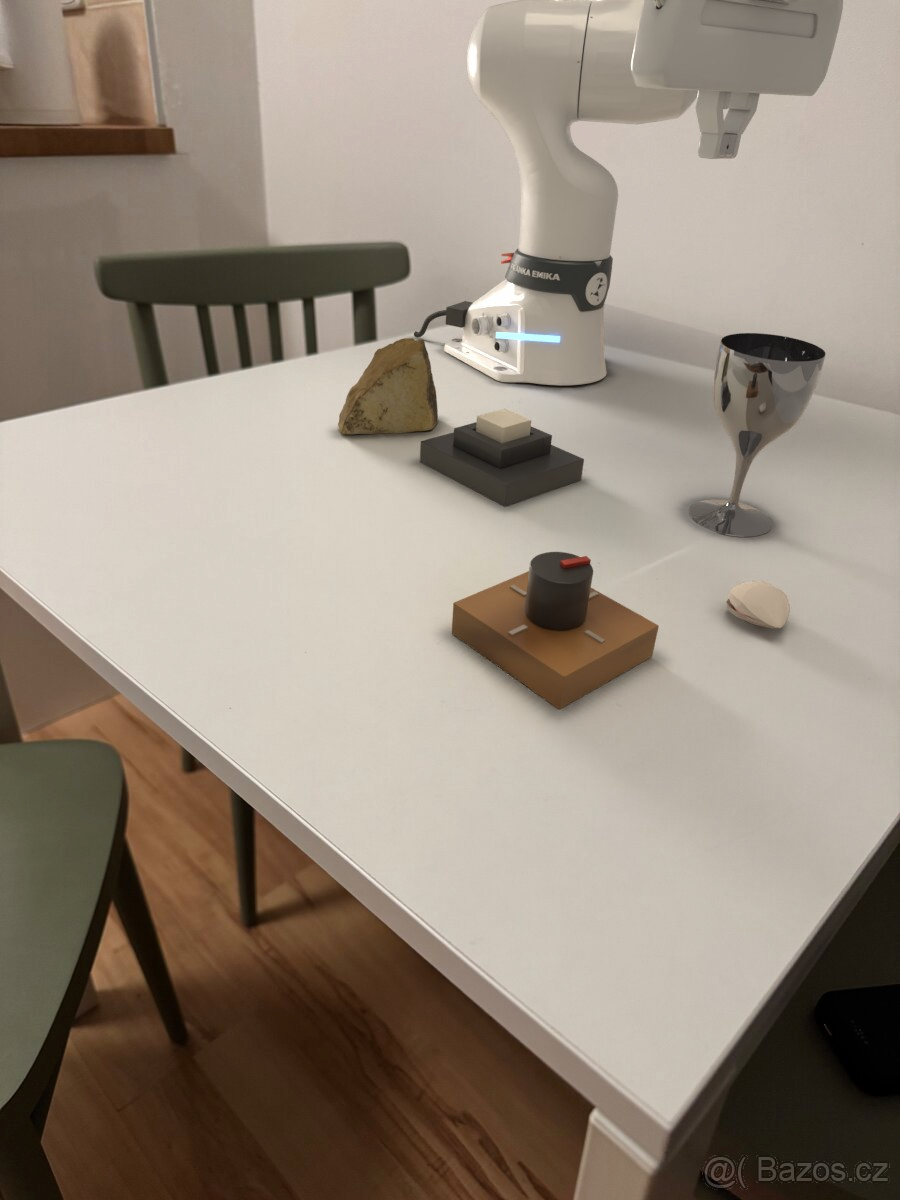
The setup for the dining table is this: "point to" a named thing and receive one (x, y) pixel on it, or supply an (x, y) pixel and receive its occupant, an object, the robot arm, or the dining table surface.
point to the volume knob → (558, 590)
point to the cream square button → (503, 425)
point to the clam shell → (759, 604)
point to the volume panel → (553, 641)
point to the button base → (502, 463)
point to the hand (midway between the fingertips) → (716, 158)
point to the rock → (393, 393)
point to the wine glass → (756, 413)
